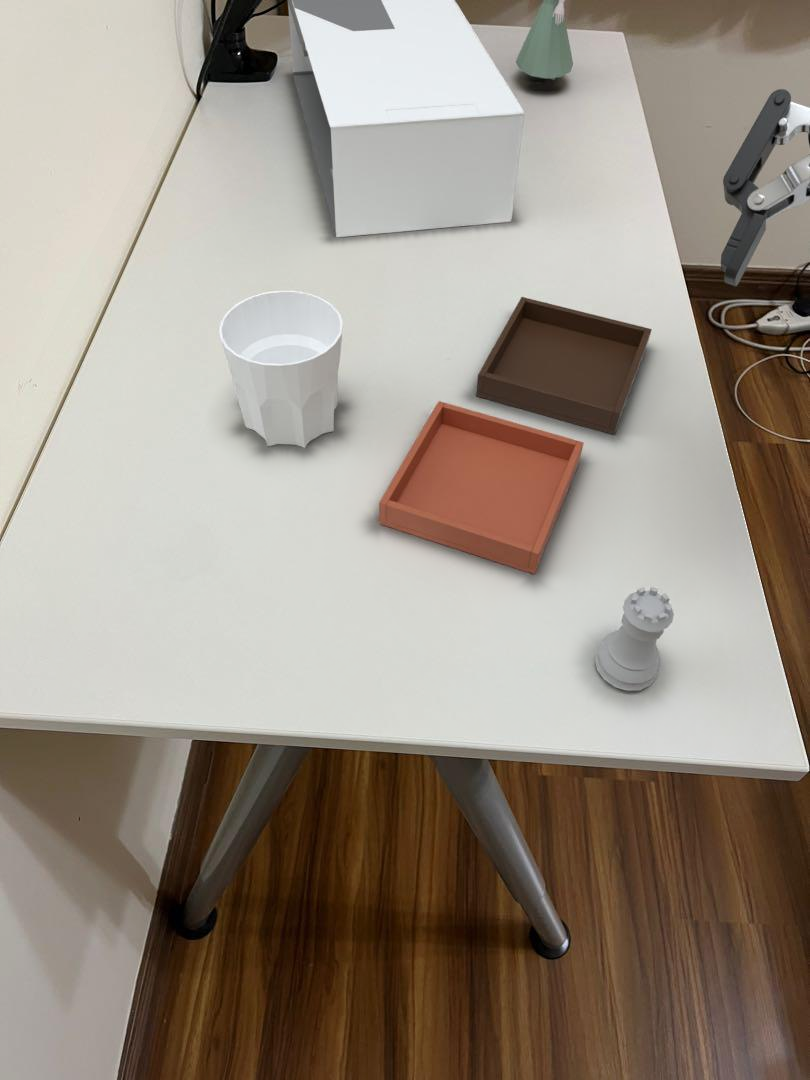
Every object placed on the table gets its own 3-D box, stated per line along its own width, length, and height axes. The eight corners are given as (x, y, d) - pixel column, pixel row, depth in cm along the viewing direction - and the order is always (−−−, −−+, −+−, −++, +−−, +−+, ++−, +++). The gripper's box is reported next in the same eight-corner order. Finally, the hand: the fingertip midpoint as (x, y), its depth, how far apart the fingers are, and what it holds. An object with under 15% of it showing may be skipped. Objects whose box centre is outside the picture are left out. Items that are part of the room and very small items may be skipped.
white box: (291, 73, 124) (283, -26, 114) (431, 64, 127) (434, -33, 117) (334, 238, 96) (329, 126, 86) (512, 222, 99) (526, 112, 89)
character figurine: (510, 57, 129) (525, -85, 115) (565, 59, 129) (586, -84, 115) (515, 103, 119) (532, -47, 105) (574, 105, 119) (598, -45, 105)
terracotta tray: (578, 463, 74) (584, 442, 72) (534, 574, 66) (539, 554, 64) (437, 422, 77) (438, 400, 75) (379, 524, 69) (378, 502, 67)
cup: (301, 367, 81) (292, 276, 74) (369, 420, 77) (367, 329, 69) (214, 413, 77) (195, 322, 69) (281, 472, 72) (268, 382, 65)
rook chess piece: (607, 630, 63) (631, 564, 56) (665, 657, 61) (696, 593, 55) (583, 675, 60) (606, 611, 54) (643, 705, 59) (673, 642, 53)
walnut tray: (645, 350, 84) (651, 328, 82) (614, 435, 76) (620, 413, 74) (518, 318, 87) (521, 296, 85) (475, 396, 79) (478, 374, 77)
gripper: (822, -47, 45) (679, 245, 48) (1124, 16, 40) (943, 338, 43) (814, 32, 52) (689, 283, 54) (1070, 93, 47) (918, 366, 50)
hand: (801, 307), depth 49 cm, fingers open, 8 cm apart
